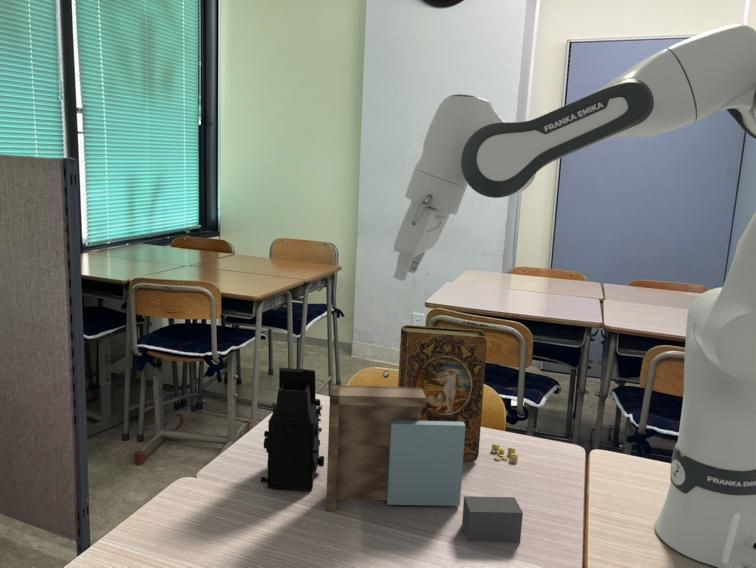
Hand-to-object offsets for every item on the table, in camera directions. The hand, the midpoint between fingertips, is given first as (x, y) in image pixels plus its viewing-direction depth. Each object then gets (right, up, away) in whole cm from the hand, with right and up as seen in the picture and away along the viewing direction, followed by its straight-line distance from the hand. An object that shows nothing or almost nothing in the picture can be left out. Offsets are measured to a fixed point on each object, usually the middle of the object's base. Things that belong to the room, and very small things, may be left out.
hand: (405, 275), depth 99 cm
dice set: (+21, -37, +21) cm, 47 cm away
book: (+7, -35, +21) cm, 42 cm away
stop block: (+13, -40, -7) cm, 43 cm away
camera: (-19, -36, +9) cm, 42 cm away
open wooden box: (-6, -38, 0) cm, 38 cm away
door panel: (+3, -38, +1) cm, 38 cm away
